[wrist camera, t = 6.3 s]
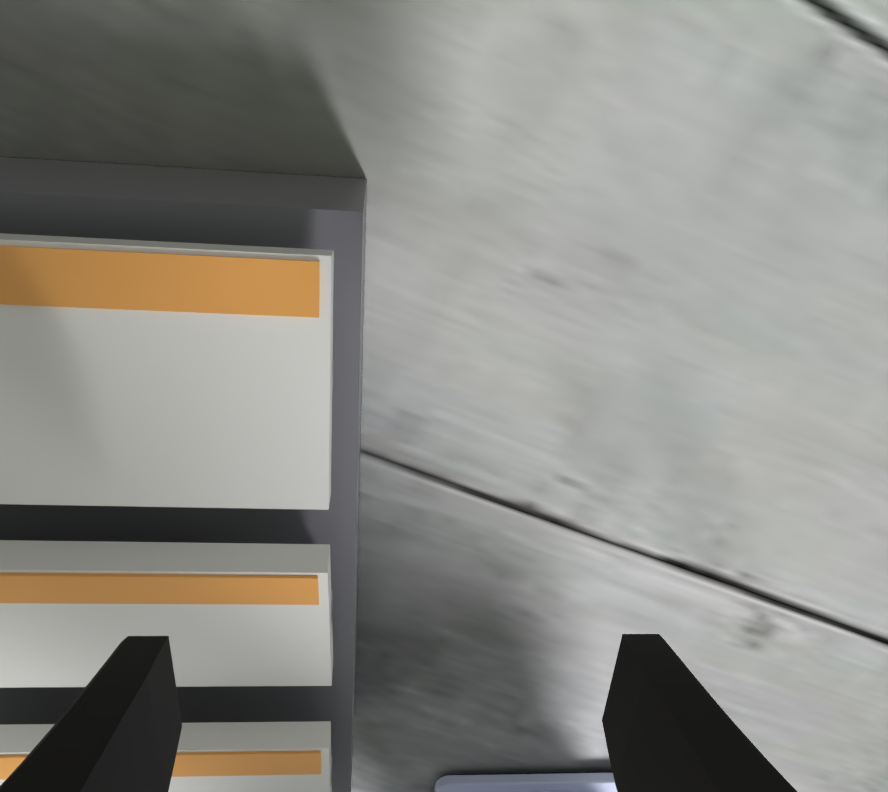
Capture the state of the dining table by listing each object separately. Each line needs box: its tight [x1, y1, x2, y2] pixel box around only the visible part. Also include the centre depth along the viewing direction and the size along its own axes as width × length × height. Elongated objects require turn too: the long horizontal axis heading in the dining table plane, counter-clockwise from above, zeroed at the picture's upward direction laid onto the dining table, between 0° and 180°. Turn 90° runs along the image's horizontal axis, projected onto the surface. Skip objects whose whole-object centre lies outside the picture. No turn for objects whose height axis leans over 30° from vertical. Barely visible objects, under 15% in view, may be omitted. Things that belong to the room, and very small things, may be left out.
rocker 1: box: [0, 233, 334, 510], centre depth 14 cm, size 5×10×1 cm, turn 86°
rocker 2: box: [0, 721, 332, 792], centre depth 19 cm, size 5×10×1 cm, turn 86°
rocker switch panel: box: [0, 157, 367, 792], centre depth 19 cm, size 18×14×3 cm
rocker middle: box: [0, 540, 333, 688], centre depth 17 cm, size 5×10×1 cm, turn 86°
